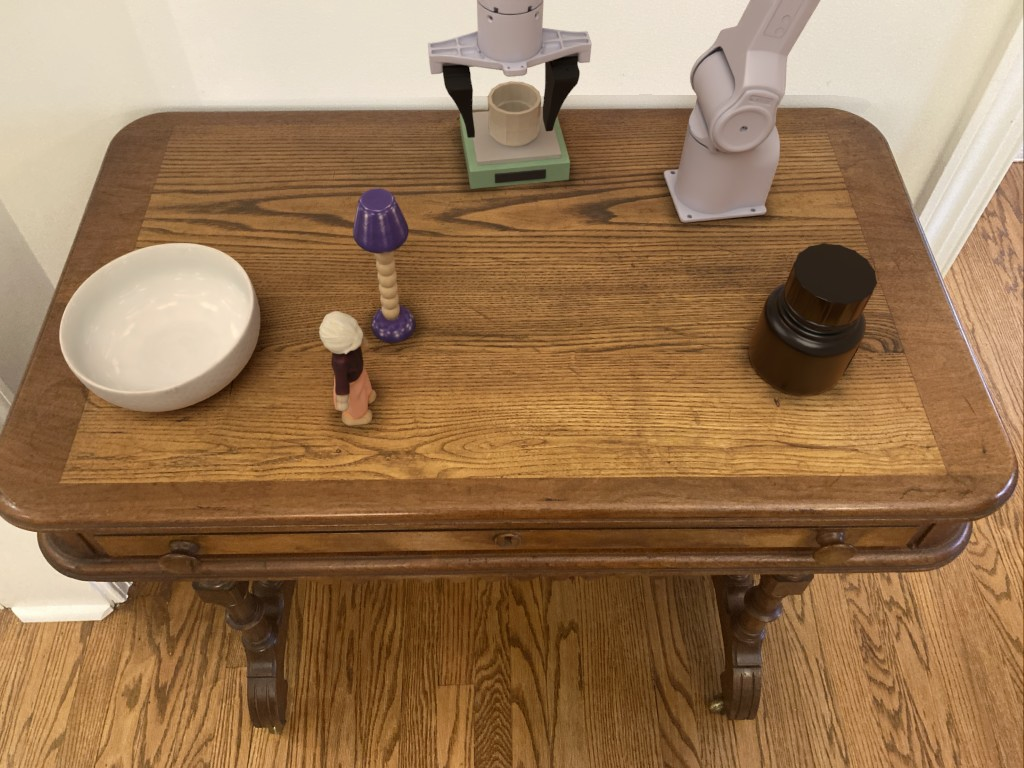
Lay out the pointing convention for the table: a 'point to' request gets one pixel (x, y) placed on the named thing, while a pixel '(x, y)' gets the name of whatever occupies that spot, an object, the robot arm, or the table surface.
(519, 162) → the scale
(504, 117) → the white cup
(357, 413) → the grandmother figurine
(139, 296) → the cereal bowl
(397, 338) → the toy lamp
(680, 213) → the robot arm
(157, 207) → the table surface
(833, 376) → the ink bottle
